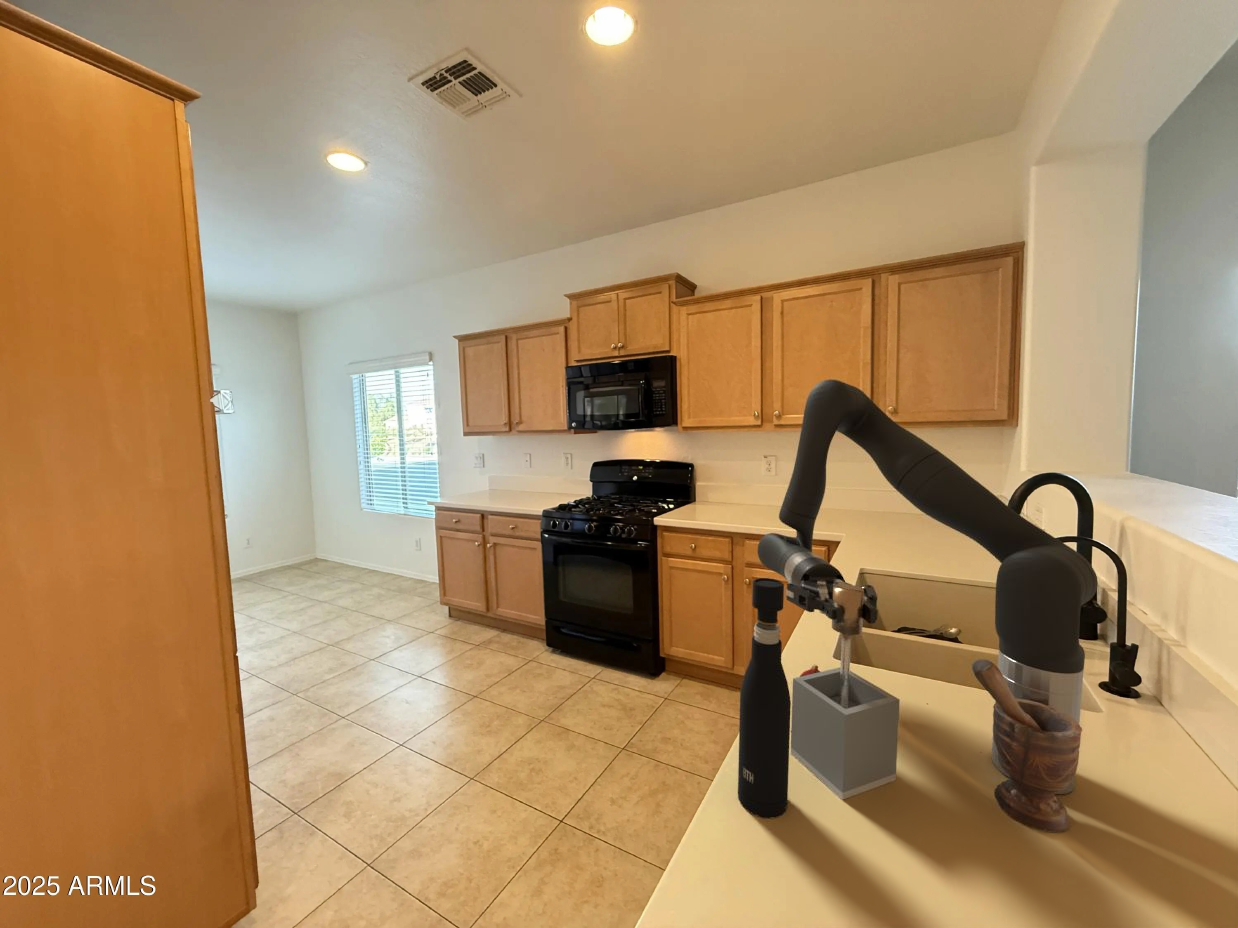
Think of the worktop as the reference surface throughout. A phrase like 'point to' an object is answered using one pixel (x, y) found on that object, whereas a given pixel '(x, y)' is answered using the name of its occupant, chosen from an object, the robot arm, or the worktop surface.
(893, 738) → the grey open box
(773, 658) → the black water bottle
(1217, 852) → the worktop surface
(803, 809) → the worktop surface
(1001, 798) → the mortar and pestle
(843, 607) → the plunger
